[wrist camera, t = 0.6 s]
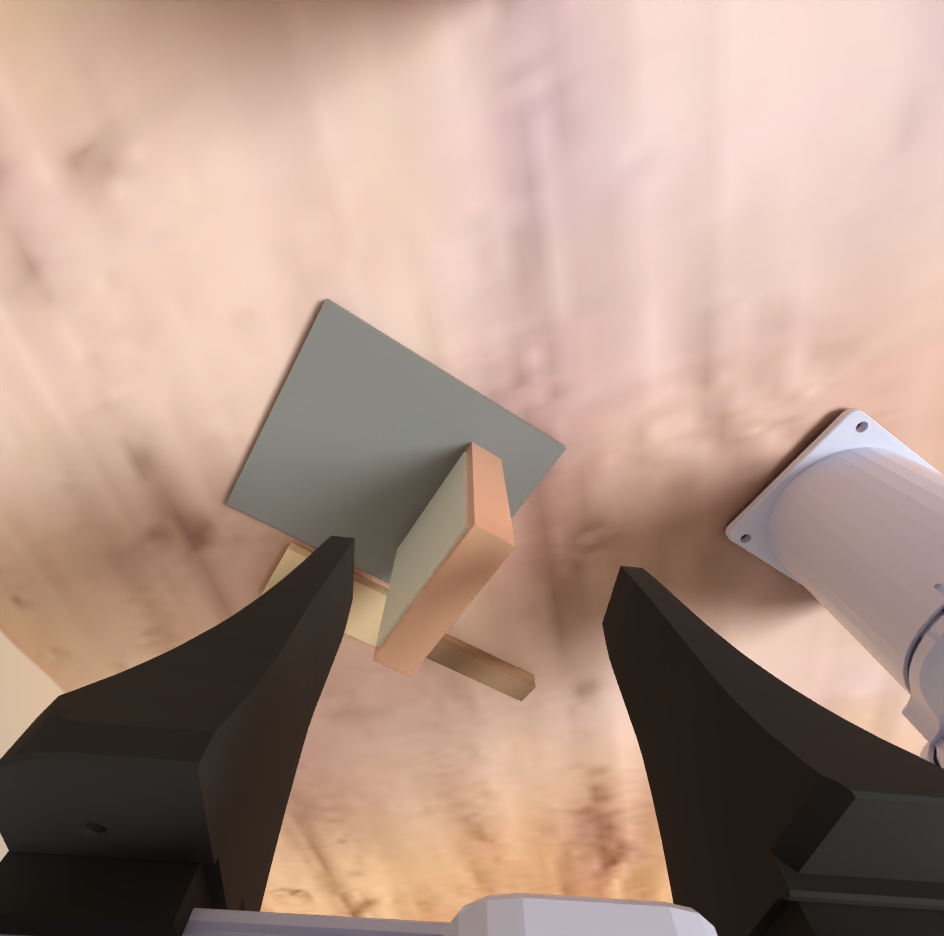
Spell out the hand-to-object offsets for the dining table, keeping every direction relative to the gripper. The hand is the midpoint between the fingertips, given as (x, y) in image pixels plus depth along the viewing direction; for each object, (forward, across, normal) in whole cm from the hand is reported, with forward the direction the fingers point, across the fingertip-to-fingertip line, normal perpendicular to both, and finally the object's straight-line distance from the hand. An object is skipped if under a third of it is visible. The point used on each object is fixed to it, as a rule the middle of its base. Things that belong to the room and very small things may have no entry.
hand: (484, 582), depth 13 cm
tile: (+10, +1, +3) cm, 10 cm away
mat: (+10, +4, +2) cm, 11 cm away
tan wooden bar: (+10, +2, +12) cm, 16 cm away
